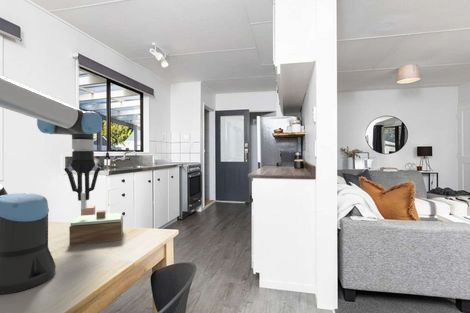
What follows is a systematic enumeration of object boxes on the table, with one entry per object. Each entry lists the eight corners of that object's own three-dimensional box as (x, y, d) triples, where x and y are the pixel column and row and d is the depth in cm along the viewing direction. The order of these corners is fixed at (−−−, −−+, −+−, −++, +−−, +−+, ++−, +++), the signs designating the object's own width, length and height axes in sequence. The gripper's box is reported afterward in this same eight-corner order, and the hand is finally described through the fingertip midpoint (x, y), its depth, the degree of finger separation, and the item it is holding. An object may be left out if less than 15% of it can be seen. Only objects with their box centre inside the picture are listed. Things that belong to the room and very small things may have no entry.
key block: (93, 229, 116) (93, 207, 116) (80, 230, 114) (80, 208, 114) (95, 226, 120) (95, 205, 120) (83, 227, 119) (83, 206, 118)
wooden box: (121, 239, 103) (121, 222, 103) (69, 245, 96) (69, 226, 96) (122, 230, 114) (122, 215, 114) (76, 235, 108) (76, 218, 107)
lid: (120, 221, 103) (120, 213, 103) (70, 225, 97) (70, 216, 97) (122, 215, 114) (122, 207, 114) (77, 218, 107) (77, 210, 107)
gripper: (102, 150, 109) (102, 205, 109) (66, 150, 104) (67, 207, 105) (100, 150, 102) (100, 209, 102) (61, 150, 97) (62, 211, 98)
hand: (83, 208), depth 103 cm, fingers closed
